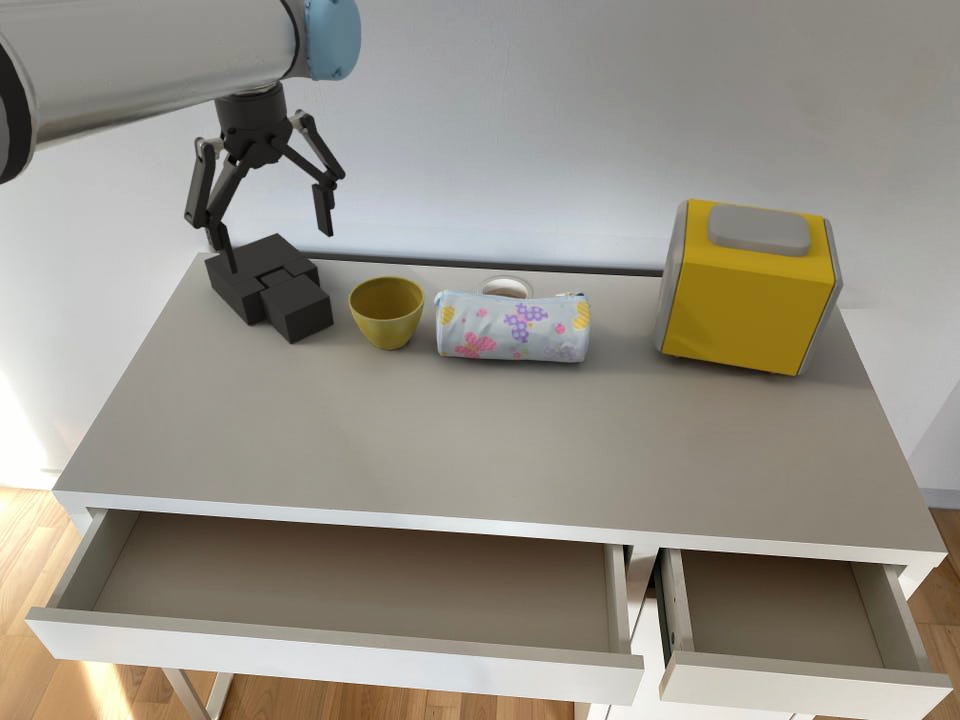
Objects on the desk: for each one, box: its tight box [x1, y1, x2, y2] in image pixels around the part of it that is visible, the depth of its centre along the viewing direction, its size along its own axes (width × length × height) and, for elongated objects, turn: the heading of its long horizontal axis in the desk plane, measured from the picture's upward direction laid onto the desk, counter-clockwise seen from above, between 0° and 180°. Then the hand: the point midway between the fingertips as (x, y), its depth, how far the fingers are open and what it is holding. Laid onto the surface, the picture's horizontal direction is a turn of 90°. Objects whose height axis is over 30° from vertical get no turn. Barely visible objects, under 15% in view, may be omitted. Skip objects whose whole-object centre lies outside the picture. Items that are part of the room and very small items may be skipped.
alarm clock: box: [653, 198, 844, 377], centre depth 95 cm, size 20×16×18 cm
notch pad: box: [203, 232, 322, 327], centre depth 106 cm, size 12×12×5 cm
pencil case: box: [433, 288, 592, 363], centre depth 95 cm, size 21×9×10 cm, turn 89°
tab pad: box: [260, 269, 335, 345], centre depth 102 cm, size 7×10×5 cm
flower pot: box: [348, 275, 426, 351], centre depth 98 cm, size 10×10×7 cm
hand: (279, 250), depth 92 cm, fingers open, 13 cm apart
